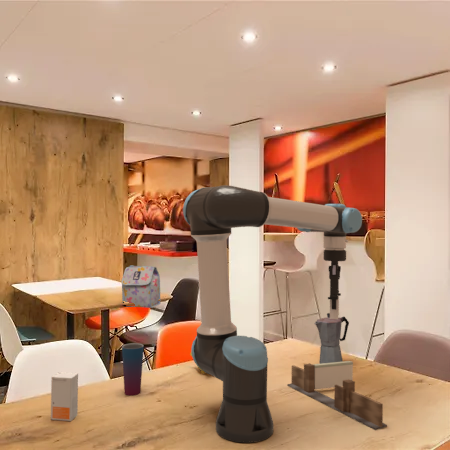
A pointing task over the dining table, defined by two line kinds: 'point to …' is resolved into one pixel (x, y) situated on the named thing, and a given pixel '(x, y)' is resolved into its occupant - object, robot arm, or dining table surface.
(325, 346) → the moka pot
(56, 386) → the skincare box
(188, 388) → the dining table surface
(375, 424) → the fence
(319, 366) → the beige flat panel
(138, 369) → the cup
